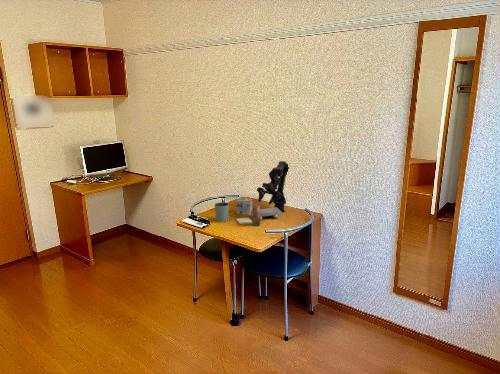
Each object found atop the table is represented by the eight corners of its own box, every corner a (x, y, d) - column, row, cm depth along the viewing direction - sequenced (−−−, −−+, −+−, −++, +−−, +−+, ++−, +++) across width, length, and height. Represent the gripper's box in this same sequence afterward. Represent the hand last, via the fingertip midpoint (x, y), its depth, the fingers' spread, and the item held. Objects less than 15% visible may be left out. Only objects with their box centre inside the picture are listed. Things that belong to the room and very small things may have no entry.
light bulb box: (236, 214, 285) (235, 200, 282) (238, 211, 291) (238, 197, 289) (250, 214, 283) (250, 200, 280) (252, 212, 289) (252, 198, 286)
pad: (248, 218, 275) (248, 217, 275) (252, 222, 266) (252, 221, 266) (236, 220, 272) (236, 218, 272) (239, 224, 264) (239, 222, 264)
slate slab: (276, 213, 284) (276, 207, 283) (281, 218, 274) (281, 211, 272) (250, 216, 279) (250, 210, 277) (254, 221, 268) (254, 214, 267)
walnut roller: (258, 223, 265) (258, 205, 262) (260, 225, 261) (260, 207, 257) (251, 224, 264) (251, 206, 260) (253, 226, 259) (253, 208, 256)
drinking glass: (212, 220, 273) (211, 204, 270) (223, 216, 280) (222, 201, 277) (221, 223, 266) (220, 207, 263) (232, 220, 273) (231, 203, 270)
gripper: (258, 176, 270) (247, 194, 265) (279, 180, 258) (269, 199, 253) (265, 184, 278) (255, 202, 273) (286, 188, 266) (276, 208, 260)
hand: (263, 203), depth 264 cm, fingers open, 9 cm apart
